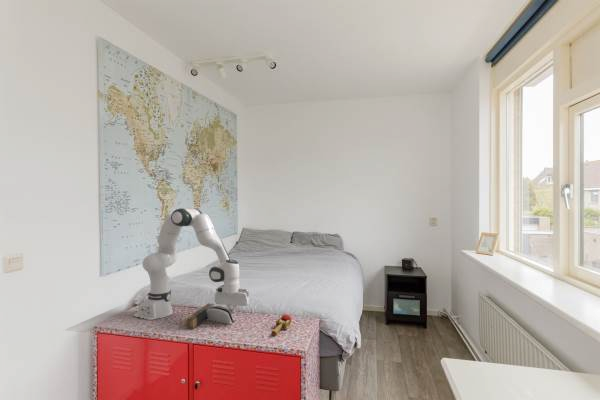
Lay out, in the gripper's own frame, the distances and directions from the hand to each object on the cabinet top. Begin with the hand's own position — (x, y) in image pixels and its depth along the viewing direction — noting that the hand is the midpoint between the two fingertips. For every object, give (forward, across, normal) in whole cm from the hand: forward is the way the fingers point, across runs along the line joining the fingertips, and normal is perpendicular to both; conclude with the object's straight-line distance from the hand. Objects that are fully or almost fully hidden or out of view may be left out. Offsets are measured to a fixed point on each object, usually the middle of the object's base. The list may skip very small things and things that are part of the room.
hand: (231, 312), depth 173 cm
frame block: (+6, +19, +1) cm, 20 cm away
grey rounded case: (+6, +7, 0) cm, 10 cm away
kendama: (+6, -31, +3) cm, 31 cm away
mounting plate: (+6, +17, +1) cm, 18 cm away
